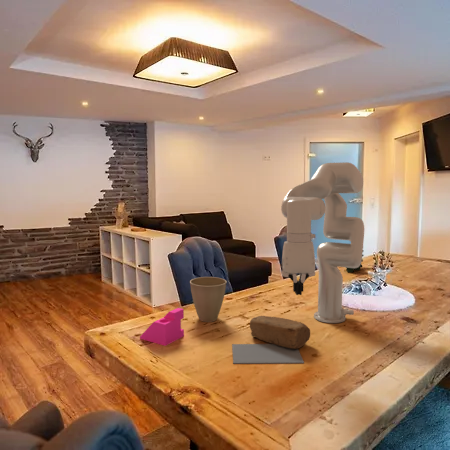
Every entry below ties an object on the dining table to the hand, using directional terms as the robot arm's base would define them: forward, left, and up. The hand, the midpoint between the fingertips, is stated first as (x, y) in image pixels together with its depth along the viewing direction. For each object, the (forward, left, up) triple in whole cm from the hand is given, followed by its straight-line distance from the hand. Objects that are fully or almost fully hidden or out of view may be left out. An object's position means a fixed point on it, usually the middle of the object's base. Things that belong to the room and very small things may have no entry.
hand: (298, 293), depth 126 cm
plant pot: (+30, -33, -20) cm, 49 cm away
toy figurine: (-59, -119, -20) cm, 135 cm away
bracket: (+47, -14, -20) cm, 53 cm away
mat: (+10, 0, -20) cm, 23 cm away
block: (-3, -3, -16) cm, 16 cm away
